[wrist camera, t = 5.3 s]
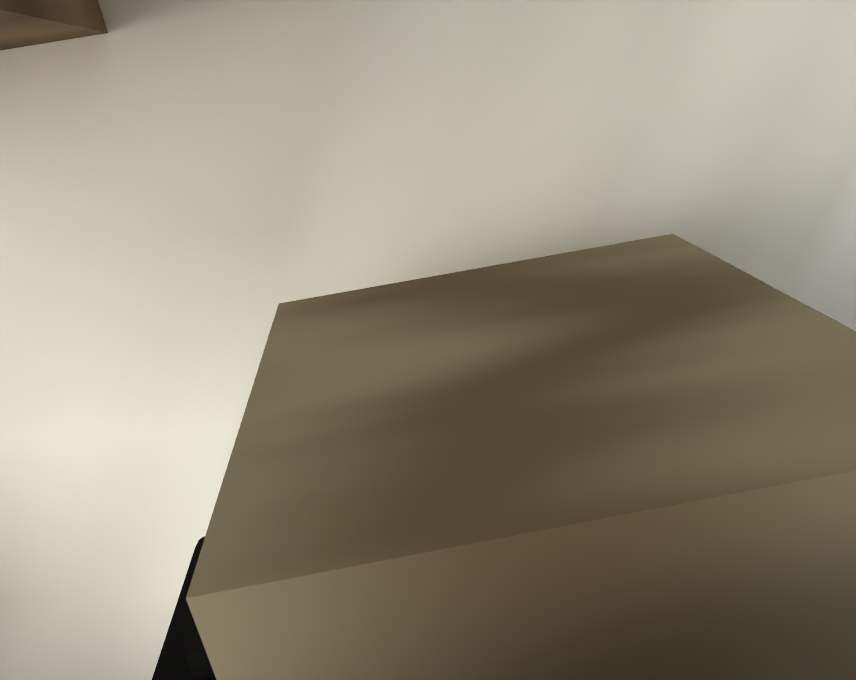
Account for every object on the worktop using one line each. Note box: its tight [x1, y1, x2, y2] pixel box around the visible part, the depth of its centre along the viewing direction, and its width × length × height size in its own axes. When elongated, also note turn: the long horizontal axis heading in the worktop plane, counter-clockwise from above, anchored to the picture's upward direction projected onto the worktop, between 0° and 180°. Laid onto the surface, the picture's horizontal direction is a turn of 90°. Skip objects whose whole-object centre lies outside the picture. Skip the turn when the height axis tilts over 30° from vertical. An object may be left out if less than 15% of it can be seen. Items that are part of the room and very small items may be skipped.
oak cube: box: [186, 234, 856, 680], centre depth 9 cm, size 6×6×6 cm
